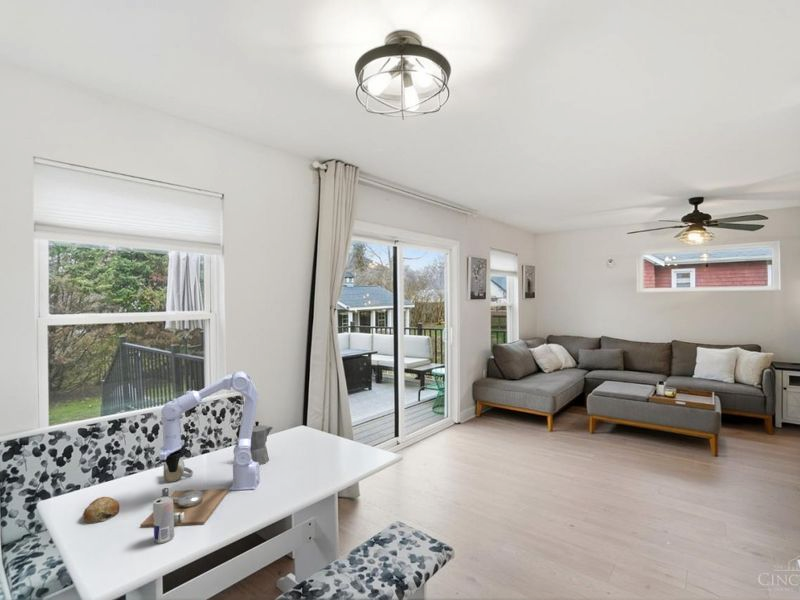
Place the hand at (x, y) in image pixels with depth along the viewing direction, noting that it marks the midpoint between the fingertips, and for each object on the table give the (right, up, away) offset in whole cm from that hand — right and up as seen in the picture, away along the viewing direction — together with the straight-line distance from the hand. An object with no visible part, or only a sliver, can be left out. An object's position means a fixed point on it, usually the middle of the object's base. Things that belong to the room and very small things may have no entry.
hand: (173, 471), depth 153 cm
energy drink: (+11, -10, -25) cm, 30 cm away
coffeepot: (+19, -9, +32) cm, 39 cm away
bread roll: (-19, -11, -11) cm, 24 cm away
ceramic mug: (-8, -10, +18) cm, 22 cm away
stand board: (+9, -10, -7) cm, 15 cm away
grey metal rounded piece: (+6, -9, -6) cm, 12 cm away
